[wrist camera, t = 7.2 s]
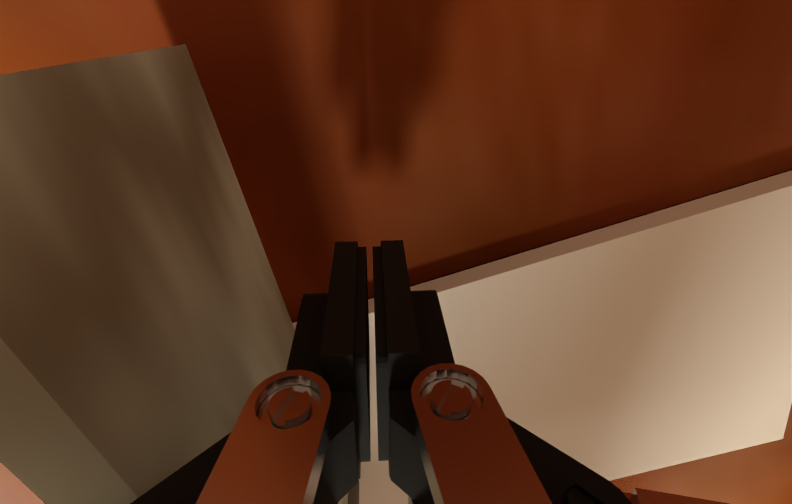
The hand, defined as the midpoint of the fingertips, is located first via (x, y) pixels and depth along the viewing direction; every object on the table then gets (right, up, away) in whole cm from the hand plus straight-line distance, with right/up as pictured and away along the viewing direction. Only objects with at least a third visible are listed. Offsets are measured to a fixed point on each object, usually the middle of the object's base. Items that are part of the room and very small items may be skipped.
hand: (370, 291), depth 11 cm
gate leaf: (-3, -2, +4) cm, 5 cm away
